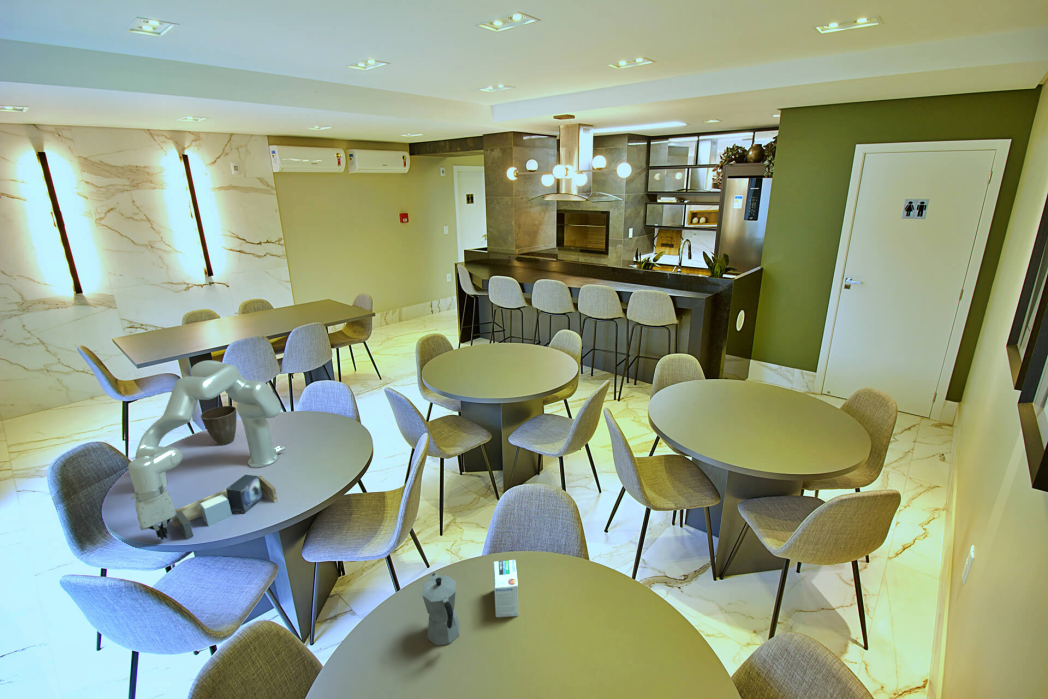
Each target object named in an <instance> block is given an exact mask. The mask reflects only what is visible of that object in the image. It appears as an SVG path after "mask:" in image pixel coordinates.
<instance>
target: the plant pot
mask: <svg viewBox="0 0 1048 699" xmlns="http://www.w3.org/2000/svg"><path fill="white" fill-rule="evenodd" d="M200 418H201V421H202V423H203V425H204V427H205V429H206V431H207V433H208V434H209V436H210V437H211V439H212V440H213V441H214V442H215V444H216V445H218V446H225V445H229V444H231V443H233V442H234V440H235V437H236V430H237V407H235V406H232V405H222V406H217V407H213V408H210V409H208V410H205V411H204V412H203V413H201V414H200Z"/></svg>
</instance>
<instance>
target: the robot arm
mask: <svg viewBox="0 0 1048 699" xmlns="http://www.w3.org/2000/svg"><path fill="white" fill-rule="evenodd" d="M190 375H191V376H181V377H180V378H179V379H177V380H176V382H175V383H174V387H173V389H172V392H171V393H170V397H169V400H168V402H167V405H166V407H165V410H164V413H163V415H162V416H161V417H160V418H159V419H157V420H156V421H155V422H154V423H153V424H152V425H151V426H150V427H149V428H148V429H147V430H146V431H145V432H144V433H143V435H142V436H141V439H140V441H139V444H138V446H137V449H136V451H135V457H134V458H135V459H133V460H131V461H130V462H129V463H128V465H127V468H128V472H129V476H130V479H131V482H132V485H133V489H134V494H132V495H130V498H131V500H133V499H134V500H135V504H134V505H135V510H136V511H135V512H136V516H137V520H138V522H139V530H140V531H146V530H153V531H155V533H156V537H157V538H160V539H161V540H164V539H167V538H168V536H167V534H169V532H168V528H167V527H168V525H169V523H170V521H171V520H172V519H173V518H174V517H176V516H177V514H176V511H175V510H176V507H175V505H174V502H173V499H172V497H171V495H170V493H169V491H168V490H167V488H163V484H162V481H161V477H160V474H161V473H163V472H167V471H170V470H171V469H173V468H175V467H176V468H177V466H178V465H180V463H181V462H182V460H183V458H184V457H183V456H184V455H183V452H182V450H180V449H179V448H177V447H172V446H159V445H160V442H161V441H162V439H163V438H164V437H165V436H166V435H167V434H168V433H170V432H171V431H173V430H175V429H177V428H180V427H182V426H184V425H187V424H188V423H190V422H191V420H192V417H193V414H194V413H195V412H194V411H195V409H196V406H197V403H198V401H199V400H202V401H204V400H205V401H210V400H213V399H214V398H216V397H218V396H219V395H221V394H222V393H224V392H225V393H226V394H227V395H228V396H229V398H230V400H232V401H234V402H235V403H237V404H236V411H237V413H238V416H239V417H240V419H241V422H242V425H243V428H244V433H245V438H246V442H247V447H248V450H249V455H250V458H248V461H247V465H248V466H249V467H251V468H263V467H267V466H270V465H273V464H274V463H275V462H277V461H278V460H279V458H280V457H279V453H280V452H284V451H286V448H285V446H284V445H282V446H280V445H277V446H276V447H274V445H273V439H272V435H271V431H270V425H269V422H268V420H267V419H273V418H276V417H277V416H279V414H280V413H281V409H282V406H281V402H280V400H279V398H278V397H277V396H276V394H275V393H274V391H273V390H272V388H271V386H269V385H268V384H267V383H266V382H264V381H260V380H249V379H245V378H244V377H243V376H242V375H241V373H240V371H239V369H238V368H237V366H236V365H234V364H230V363H225V362H222V361H218V360H208V359H207V360H202V361H199V362H197V363H196V364H193V366H191V369H190ZM158 524H160V526H159V525H158Z"/></svg>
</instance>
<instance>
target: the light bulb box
mask: <svg viewBox="0 0 1048 699" xmlns="http://www.w3.org/2000/svg"><path fill="white" fill-rule="evenodd" d="M493 589H494V590H493V591H494V610H495V617H496V618H505V617H506V618H507V617H518V616H519V583H518V572H517V562H516V559H510V560H499V561H498V560H497V561H493Z"/></svg>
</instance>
